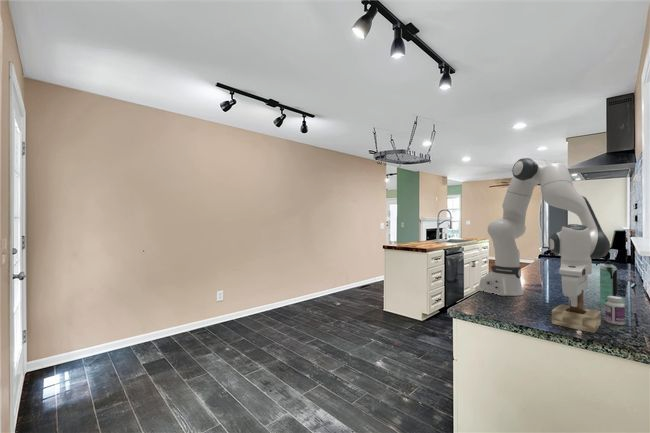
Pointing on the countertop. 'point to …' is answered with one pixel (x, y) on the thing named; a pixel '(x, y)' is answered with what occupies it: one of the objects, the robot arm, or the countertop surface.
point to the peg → (580, 305)
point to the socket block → (576, 318)
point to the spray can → (607, 282)
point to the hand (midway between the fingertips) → (576, 304)
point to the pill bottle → (615, 310)
